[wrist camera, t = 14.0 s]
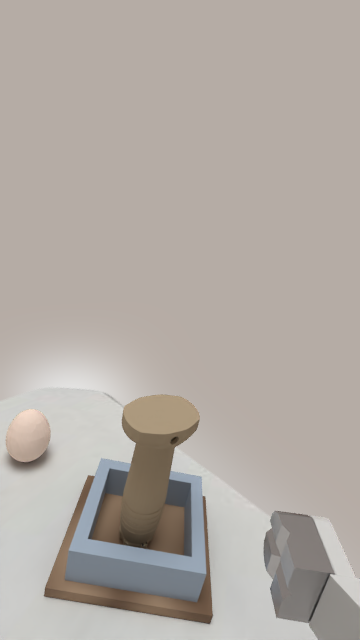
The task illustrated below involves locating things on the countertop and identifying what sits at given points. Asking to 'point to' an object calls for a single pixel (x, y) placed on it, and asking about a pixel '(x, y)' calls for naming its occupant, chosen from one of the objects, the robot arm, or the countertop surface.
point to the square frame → (137, 563)
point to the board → (107, 530)
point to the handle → (151, 461)
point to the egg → (28, 435)
